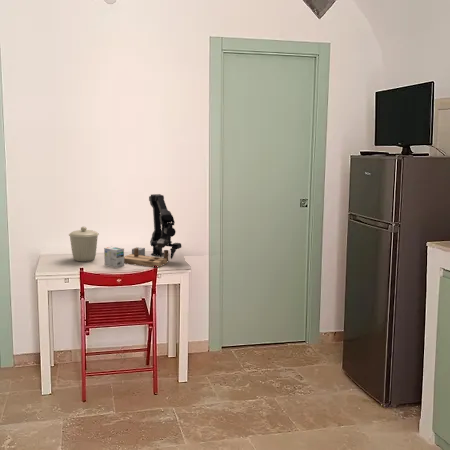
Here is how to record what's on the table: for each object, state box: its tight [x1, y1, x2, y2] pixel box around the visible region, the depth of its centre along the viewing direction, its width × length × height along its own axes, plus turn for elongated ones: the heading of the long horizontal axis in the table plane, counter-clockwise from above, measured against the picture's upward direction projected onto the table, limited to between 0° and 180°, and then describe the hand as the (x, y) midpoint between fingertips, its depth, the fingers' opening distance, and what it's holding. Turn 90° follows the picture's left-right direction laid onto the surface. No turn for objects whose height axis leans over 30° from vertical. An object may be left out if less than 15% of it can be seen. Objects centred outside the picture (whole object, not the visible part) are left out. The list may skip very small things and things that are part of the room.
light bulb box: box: [103, 245, 125, 268], centre depth 357 cm, size 11×7×11 cm, turn 56°
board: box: [124, 247, 168, 268], centre depth 364 cm, size 12×26×8 cm, turn 67°
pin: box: [163, 249, 169, 262], centre depth 369 cm, size 3×3×7 cm
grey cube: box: [131, 246, 146, 256], centre depth 377 cm, size 6×6×6 cm
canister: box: [68, 226, 100, 263], centre depth 368 cm, size 18×18×21 cm
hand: (166, 258), depth 370 cm, fingers open, 7 cm apart
